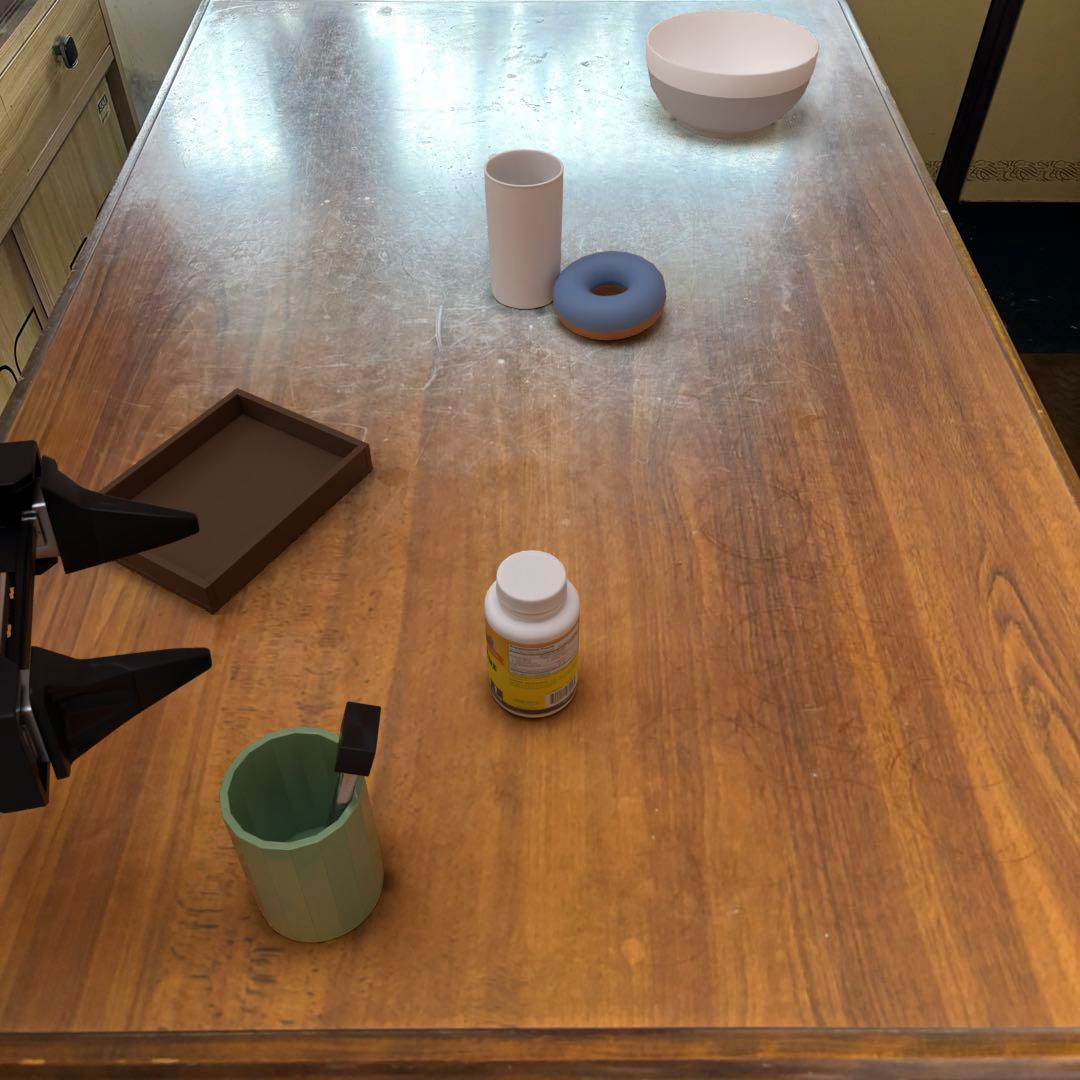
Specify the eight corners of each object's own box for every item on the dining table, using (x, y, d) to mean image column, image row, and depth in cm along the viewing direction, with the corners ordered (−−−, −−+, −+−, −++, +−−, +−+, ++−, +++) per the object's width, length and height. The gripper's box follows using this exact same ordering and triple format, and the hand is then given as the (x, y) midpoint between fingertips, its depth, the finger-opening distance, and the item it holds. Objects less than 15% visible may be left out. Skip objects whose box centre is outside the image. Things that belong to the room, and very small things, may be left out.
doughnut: (562, 354, 94) (562, 308, 91) (544, 291, 101) (544, 246, 98) (676, 344, 95) (680, 298, 92) (650, 282, 102) (654, 238, 99)
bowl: (724, 172, 118) (734, 90, 111) (607, 113, 128) (610, 36, 122) (840, 123, 126) (855, 44, 120) (722, 71, 136) (730, -3, 130)
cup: (266, 959, 57) (229, 867, 50) (248, 846, 61) (212, 747, 54) (396, 920, 58) (377, 825, 51) (369, 812, 63) (348, 712, 56)
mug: (576, 298, 100) (579, 173, 92) (511, 319, 98) (508, 193, 89) (521, 249, 106) (519, 128, 98) (460, 267, 104) (452, 145, 96)
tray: (213, 614, 73) (205, 588, 72) (76, 540, 78) (65, 515, 76) (373, 468, 84) (369, 443, 82) (243, 412, 89) (236, 387, 87)
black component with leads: (311, 899, 58) (283, 746, 48) (318, 854, 60) (293, 698, 50) (387, 901, 58) (375, 749, 49) (392, 856, 60) (381, 701, 50)
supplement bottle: (496, 647, 71) (490, 534, 64) (582, 656, 71) (586, 543, 63) (481, 717, 67) (474, 606, 60) (572, 727, 67) (575, 615, 59)
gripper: (-284, 676, 37) (195, 611, 41) (-186, 364, 50) (173, 337, 54) (-170, 852, 45) (226, 782, 49) (-110, 542, 58) (200, 507, 62)
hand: (204, 586), depth 53 cm, fingers open, 9 cm apart
